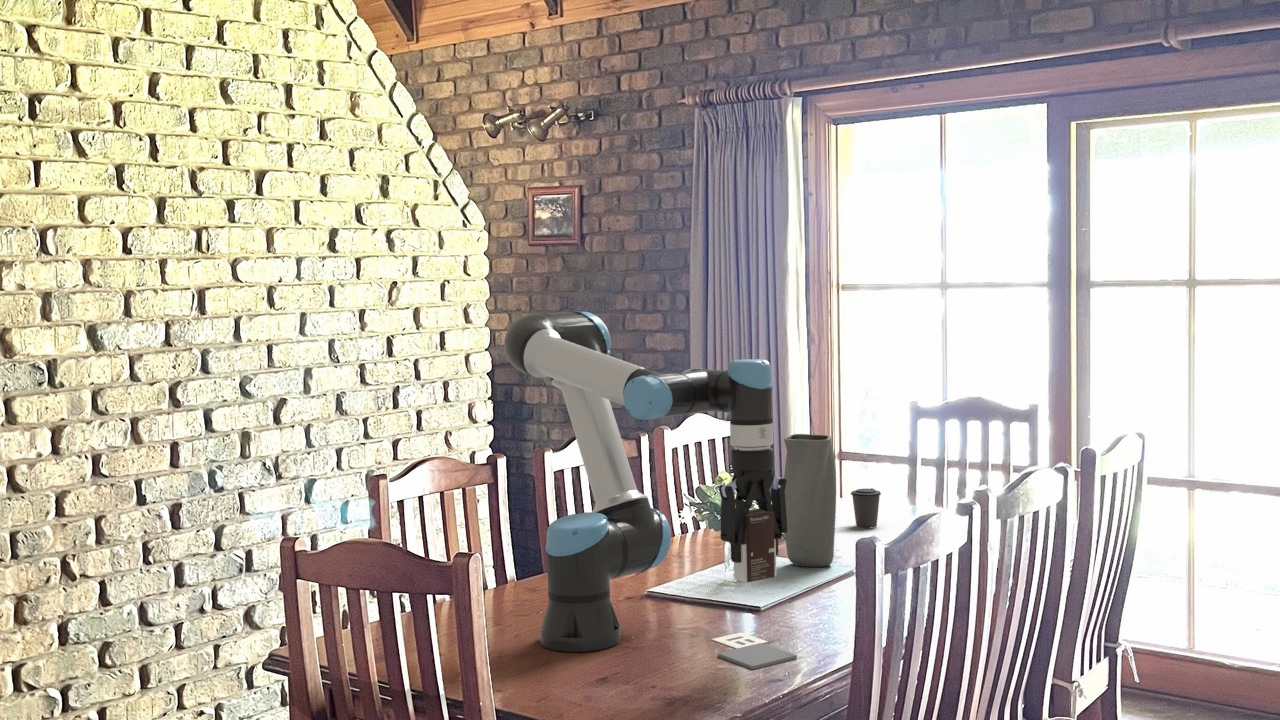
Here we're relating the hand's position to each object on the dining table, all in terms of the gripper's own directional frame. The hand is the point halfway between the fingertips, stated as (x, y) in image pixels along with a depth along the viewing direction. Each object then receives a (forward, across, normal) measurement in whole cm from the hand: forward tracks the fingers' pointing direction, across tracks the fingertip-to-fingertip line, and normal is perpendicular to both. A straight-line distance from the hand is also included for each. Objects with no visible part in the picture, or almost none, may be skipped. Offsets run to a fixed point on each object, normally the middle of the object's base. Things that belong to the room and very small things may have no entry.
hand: (755, 577), depth 228 cm
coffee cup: (+14, +97, +73) cm, 122 cm away
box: (0, 0, 0) cm, 0 cm away
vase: (+15, +56, +49) cm, 76 cm away
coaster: (+14, 0, 0) cm, 14 cm away
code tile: (+14, +4, +10) cm, 18 cm away
